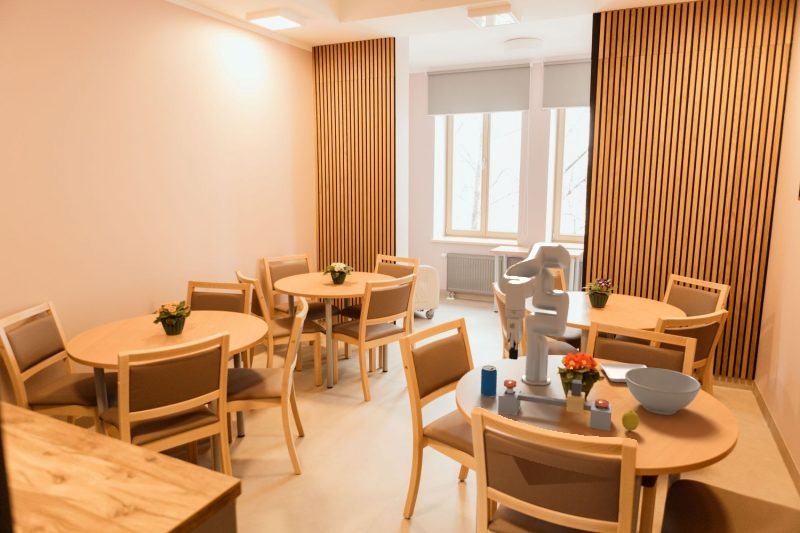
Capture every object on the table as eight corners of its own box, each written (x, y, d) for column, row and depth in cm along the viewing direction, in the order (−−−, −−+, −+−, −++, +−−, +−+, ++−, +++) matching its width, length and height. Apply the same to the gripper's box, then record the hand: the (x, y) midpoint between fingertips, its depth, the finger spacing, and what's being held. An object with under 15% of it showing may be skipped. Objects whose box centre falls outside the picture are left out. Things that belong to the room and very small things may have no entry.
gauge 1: (504, 396, 218) (505, 379, 216) (516, 398, 216) (517, 380, 215) (502, 401, 213) (502, 383, 212) (514, 403, 211) (515, 385, 210)
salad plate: (598, 368, 262) (598, 361, 261) (644, 370, 259) (644, 363, 258) (608, 385, 241) (609, 377, 240) (659, 387, 238) (659, 380, 238)
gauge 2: (594, 416, 205) (595, 398, 204) (607, 419, 203) (609, 400, 202) (593, 422, 201) (594, 403, 200) (607, 424, 199) (608, 405, 198)
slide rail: (502, 403, 221) (503, 387, 219) (610, 420, 205) (612, 403, 204) (498, 412, 212) (498, 395, 211) (610, 431, 197) (611, 412, 196)
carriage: (567, 404, 209) (569, 377, 207) (584, 407, 207) (585, 379, 205) (566, 411, 203) (567, 383, 202) (583, 413, 201) (584, 385, 199)
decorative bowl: (690, 399, 225) (692, 371, 223) (704, 427, 200) (707, 396, 198) (620, 391, 233) (622, 364, 231) (626, 417, 208) (628, 387, 206)
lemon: (618, 428, 199) (620, 407, 198) (633, 427, 200) (634, 406, 198) (626, 435, 194) (627, 413, 192) (640, 434, 194) (642, 413, 193)
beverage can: (496, 398, 226) (496, 371, 224) (480, 397, 227) (480, 370, 225) (496, 392, 232) (497, 365, 230) (481, 391, 233) (481, 364, 231)
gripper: (521, 318, 200) (519, 366, 203) (527, 309, 214) (526, 354, 217) (501, 316, 203) (499, 363, 206) (508, 307, 217) (507, 351, 220)
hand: (513, 358), depth 211 cm, fingers closed
